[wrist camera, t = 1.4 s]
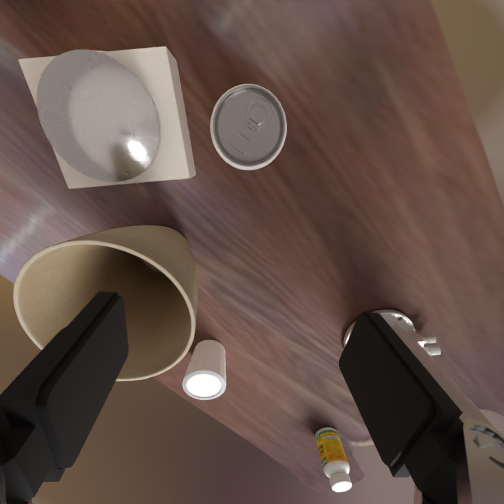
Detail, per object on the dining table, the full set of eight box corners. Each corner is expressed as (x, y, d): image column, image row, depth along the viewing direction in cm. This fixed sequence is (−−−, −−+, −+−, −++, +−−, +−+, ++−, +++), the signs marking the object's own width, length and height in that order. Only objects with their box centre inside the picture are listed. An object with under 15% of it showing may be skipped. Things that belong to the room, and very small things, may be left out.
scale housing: (175, 55, 26) (164, 40, 22) (196, 174, 31) (189, 178, 27) (45, 67, 26) (12, 53, 22) (87, 184, 31) (66, 189, 27)
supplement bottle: (336, 438, 56) (354, 492, 47) (314, 441, 56) (328, 495, 47) (337, 425, 54) (356, 478, 45) (314, 427, 54) (328, 481, 45)
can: (282, 127, 29) (307, 115, 18) (253, 173, 31) (260, 187, 20) (238, 92, 27) (235, 55, 16) (210, 143, 29) (191, 141, 18)
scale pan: (149, 51, 22) (141, 43, 20) (174, 175, 26) (170, 177, 25) (30, 62, 22) (13, 55, 20) (76, 184, 26) (65, 186, 25)
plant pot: (218, 206, 32) (199, 252, 18) (211, 295, 38) (192, 385, 24) (105, 191, 31) (-15, 229, 16) (116, 286, 37) (34, 376, 22)
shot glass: (183, 350, 43) (172, 385, 36) (210, 330, 41) (204, 364, 35) (209, 369, 45) (204, 406, 39) (236, 352, 44) (235, 387, 37)
